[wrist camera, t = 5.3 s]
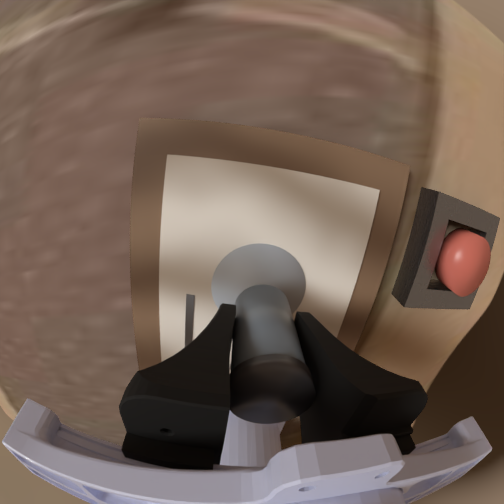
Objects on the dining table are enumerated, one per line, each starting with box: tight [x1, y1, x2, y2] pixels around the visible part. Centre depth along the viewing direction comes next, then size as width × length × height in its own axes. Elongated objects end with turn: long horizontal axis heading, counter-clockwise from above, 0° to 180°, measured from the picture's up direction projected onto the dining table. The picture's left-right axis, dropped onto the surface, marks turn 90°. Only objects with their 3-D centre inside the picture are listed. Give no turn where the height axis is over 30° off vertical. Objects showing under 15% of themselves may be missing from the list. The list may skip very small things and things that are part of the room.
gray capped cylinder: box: [230, 284, 316, 424], centre depth 11 cm, size 3×3×6 cm
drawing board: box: [130, 118, 410, 373], centre depth 17 cm, size 20×16×1 cm
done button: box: [435, 228, 491, 297], centre depth 15 cm, size 4×4×2 cm
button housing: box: [392, 187, 500, 309], centre depth 16 cm, size 8×8×2 cm
